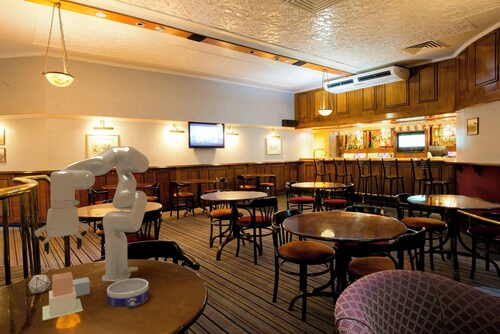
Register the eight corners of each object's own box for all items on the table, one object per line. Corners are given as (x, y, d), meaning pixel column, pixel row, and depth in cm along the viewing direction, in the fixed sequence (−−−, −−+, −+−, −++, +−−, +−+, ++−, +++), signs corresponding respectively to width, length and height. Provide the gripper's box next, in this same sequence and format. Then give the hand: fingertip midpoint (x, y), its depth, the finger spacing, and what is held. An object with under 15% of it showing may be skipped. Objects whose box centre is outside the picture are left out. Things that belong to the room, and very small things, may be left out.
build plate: (79, 301, 119) (79, 298, 119) (82, 313, 109) (82, 310, 109) (42, 309, 112) (42, 306, 112) (42, 323, 102) (42, 320, 102)
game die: (40, 303, 125) (34, 290, 119) (24, 294, 127) (18, 281, 121) (58, 286, 132) (54, 272, 126) (43, 278, 134) (38, 264, 128)
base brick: (74, 301, 116) (73, 286, 116) (76, 309, 110) (75, 293, 110) (49, 307, 112) (49, 291, 112) (49, 316, 105) (49, 299, 105)
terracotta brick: (71, 287, 115) (71, 271, 115) (72, 293, 110) (72, 276, 110) (52, 291, 112) (52, 275, 112) (53, 297, 107) (53, 280, 107)
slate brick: (88, 291, 129) (88, 277, 129) (89, 296, 124) (89, 281, 124) (71, 294, 125) (71, 280, 125) (72, 299, 120) (72, 284, 120)
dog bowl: (117, 314, 109) (117, 297, 109) (100, 301, 120) (100, 285, 120) (155, 300, 120) (155, 284, 120) (137, 289, 131) (137, 275, 131)
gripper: (88, 201, 119) (88, 245, 120) (34, 205, 109) (34, 252, 110) (90, 203, 113) (91, 249, 113) (33, 207, 103) (34, 257, 103)
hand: (63, 251), depth 112 cm, fingers open, 9 cm apart
